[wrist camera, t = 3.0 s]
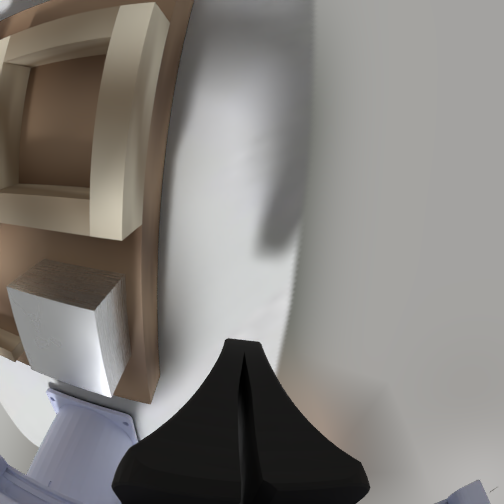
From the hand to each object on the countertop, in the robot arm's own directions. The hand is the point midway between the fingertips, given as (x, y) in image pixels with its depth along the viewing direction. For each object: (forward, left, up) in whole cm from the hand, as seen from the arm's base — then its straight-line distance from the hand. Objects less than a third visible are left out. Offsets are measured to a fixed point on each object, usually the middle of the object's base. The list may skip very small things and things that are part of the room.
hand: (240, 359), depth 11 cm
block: (0, +7, -2) cm, 8 cm away
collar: (+9, +8, -2) cm, 12 cm away
